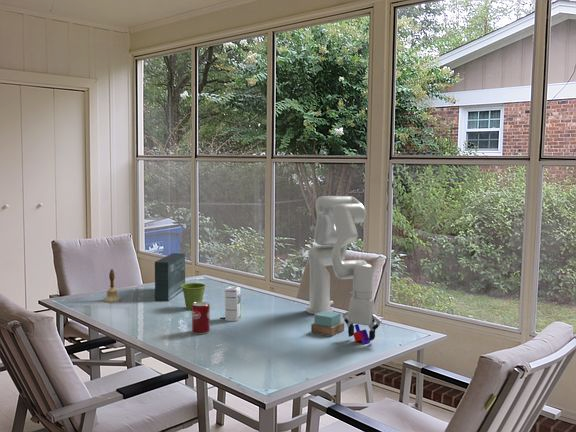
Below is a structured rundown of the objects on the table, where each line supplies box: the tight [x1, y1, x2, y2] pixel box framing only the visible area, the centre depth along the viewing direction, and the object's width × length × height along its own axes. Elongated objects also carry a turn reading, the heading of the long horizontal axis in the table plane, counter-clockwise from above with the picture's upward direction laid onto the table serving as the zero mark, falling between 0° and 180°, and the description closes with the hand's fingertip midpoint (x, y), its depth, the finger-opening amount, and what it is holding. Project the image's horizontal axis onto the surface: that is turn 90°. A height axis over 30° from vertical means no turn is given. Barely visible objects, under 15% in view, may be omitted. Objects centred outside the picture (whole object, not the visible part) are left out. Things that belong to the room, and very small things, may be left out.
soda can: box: [191, 301, 211, 335], centre depth 244 cm, size 7×7×12 cm
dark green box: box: [154, 252, 186, 302], centre depth 311 cm, size 29×7×20 cm, turn 173°
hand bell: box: [103, 269, 122, 303], centre depth 297 cm, size 8×8×16 cm
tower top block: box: [313, 311, 341, 327], centre depth 246 cm, size 8×8×4 cm
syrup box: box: [224, 286, 242, 322], centre depth 264 cm, size 6×6×14 cm
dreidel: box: [353, 324, 371, 345], centre depth 234 cm, size 4×4×8 cm
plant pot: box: [181, 282, 207, 311], centre depth 283 cm, size 12×12×11 cm
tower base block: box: [310, 321, 345, 338], centre depth 247 cm, size 10×10×4 cm
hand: (361, 337), depth 233 cm, fingers open, 8 cm apart
